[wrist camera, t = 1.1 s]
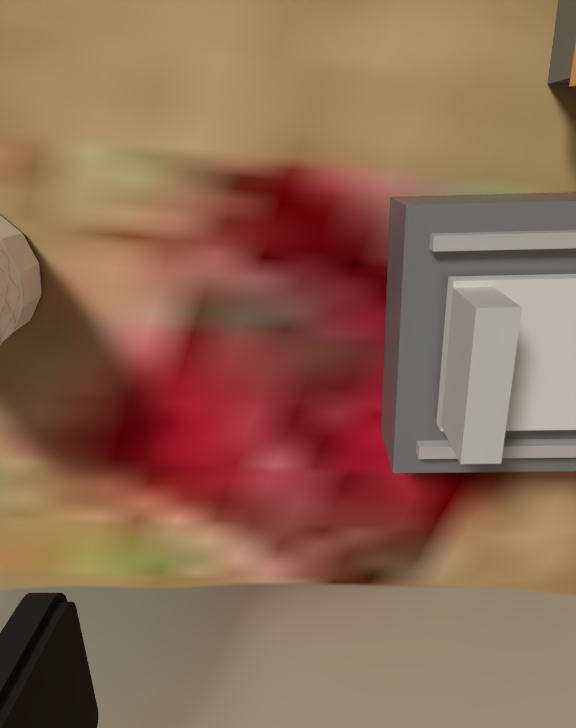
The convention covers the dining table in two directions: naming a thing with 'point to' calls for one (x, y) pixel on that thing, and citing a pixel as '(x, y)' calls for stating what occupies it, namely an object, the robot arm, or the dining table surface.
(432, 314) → the grey sliding cover box
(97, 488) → the dining table surface
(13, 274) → the white cup
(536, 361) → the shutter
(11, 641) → the robot arm
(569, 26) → the tan rectangular block
